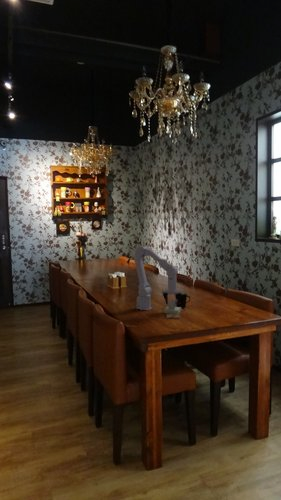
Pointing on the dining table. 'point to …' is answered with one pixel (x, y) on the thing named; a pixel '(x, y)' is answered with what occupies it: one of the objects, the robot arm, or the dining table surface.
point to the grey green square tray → (176, 311)
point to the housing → (172, 304)
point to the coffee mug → (182, 300)
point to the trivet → (172, 316)
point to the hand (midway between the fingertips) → (172, 304)
